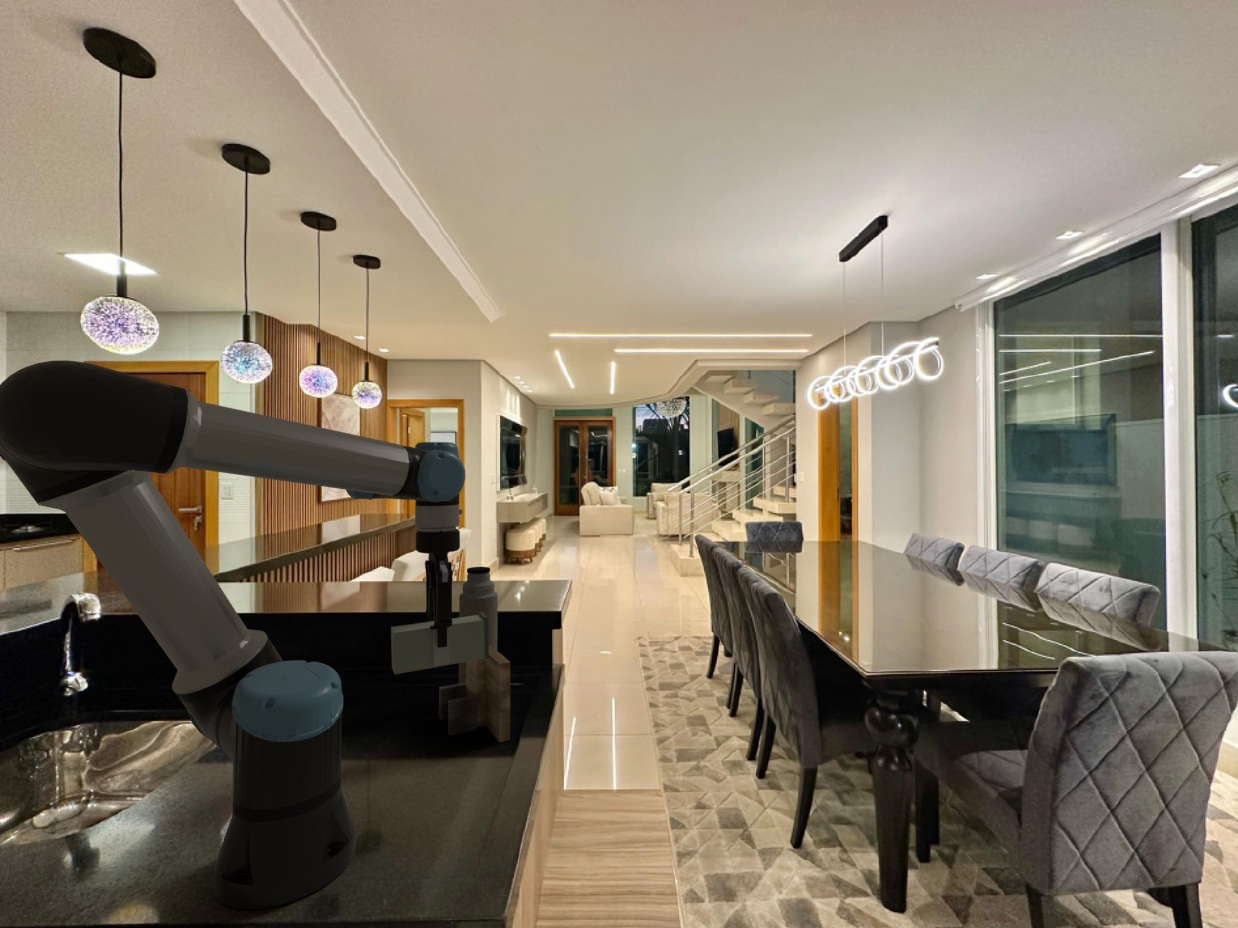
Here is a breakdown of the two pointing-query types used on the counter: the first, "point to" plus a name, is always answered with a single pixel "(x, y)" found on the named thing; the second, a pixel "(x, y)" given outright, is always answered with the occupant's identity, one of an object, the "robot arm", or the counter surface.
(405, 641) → the rectangular block
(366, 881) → the counter surface
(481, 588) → the thermos bottle
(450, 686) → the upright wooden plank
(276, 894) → the robot arm
